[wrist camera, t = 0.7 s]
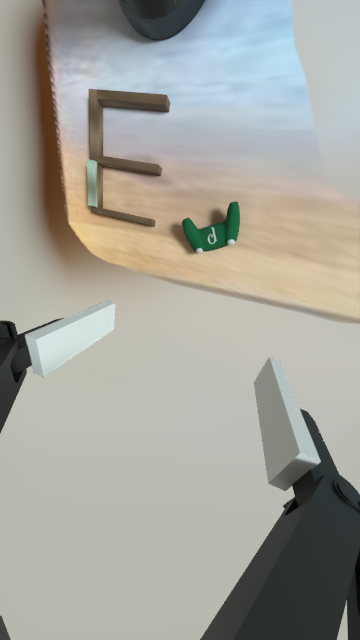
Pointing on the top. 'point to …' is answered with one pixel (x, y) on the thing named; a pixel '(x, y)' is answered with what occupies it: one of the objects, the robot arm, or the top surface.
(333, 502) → the robot arm
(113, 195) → the top surface
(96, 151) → the letter e shape
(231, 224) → the gaming controller
